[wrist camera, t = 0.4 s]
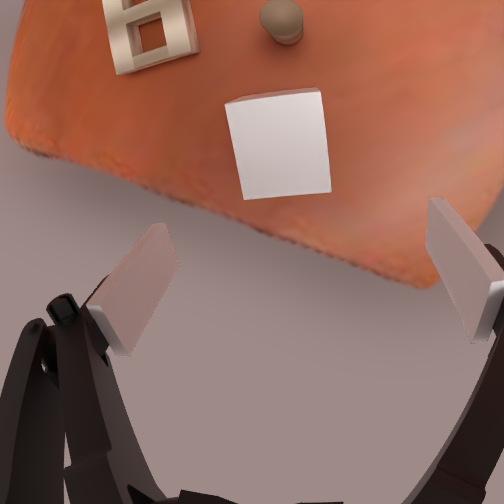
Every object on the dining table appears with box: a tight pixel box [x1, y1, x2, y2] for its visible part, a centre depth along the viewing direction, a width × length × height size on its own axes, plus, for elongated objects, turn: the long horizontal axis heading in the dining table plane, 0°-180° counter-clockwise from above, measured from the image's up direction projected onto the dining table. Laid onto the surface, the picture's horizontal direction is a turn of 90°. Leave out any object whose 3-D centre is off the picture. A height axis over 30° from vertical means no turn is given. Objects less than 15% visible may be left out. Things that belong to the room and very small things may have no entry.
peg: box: [259, 0, 303, 46], centre depth 23 cm, size 3×3×10 cm
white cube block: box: [225, 87, 331, 200], centre depth 29 cm, size 9×8×8 cm
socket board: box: [102, 0, 200, 75], centre depth 25 cm, size 13×9×3 cm
